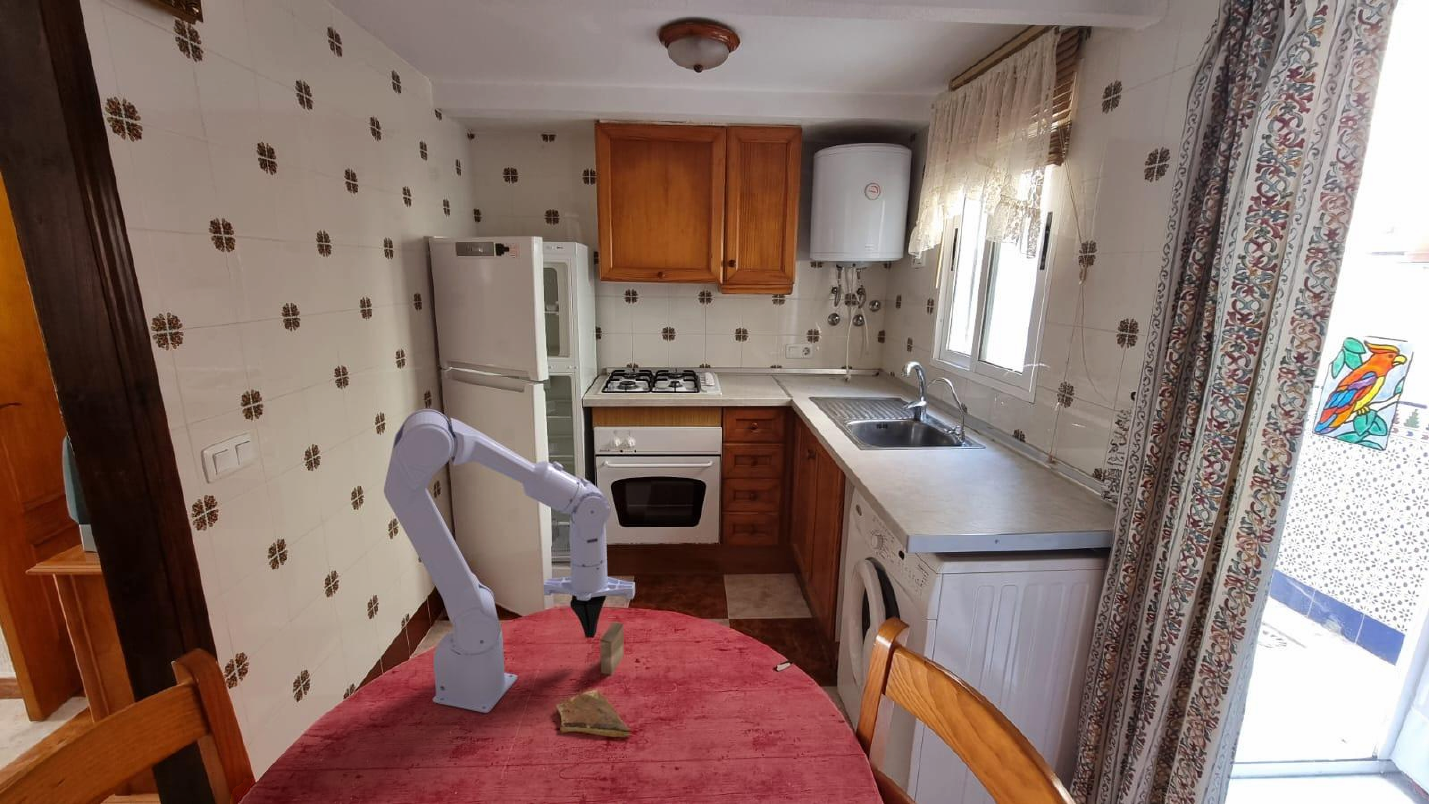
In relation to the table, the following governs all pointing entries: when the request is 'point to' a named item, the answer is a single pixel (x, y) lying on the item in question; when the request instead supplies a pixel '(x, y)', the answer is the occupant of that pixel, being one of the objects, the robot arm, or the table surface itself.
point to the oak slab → (611, 648)
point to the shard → (591, 715)
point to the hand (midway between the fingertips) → (591, 634)
